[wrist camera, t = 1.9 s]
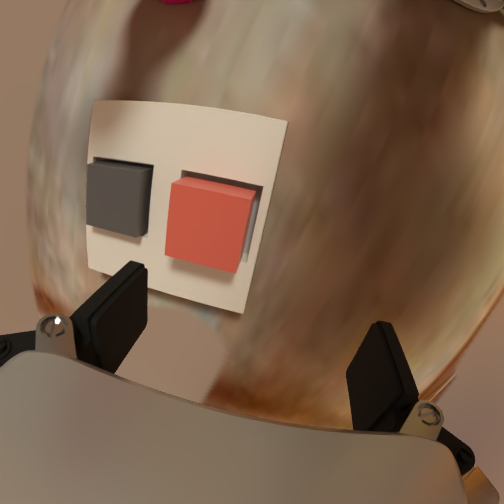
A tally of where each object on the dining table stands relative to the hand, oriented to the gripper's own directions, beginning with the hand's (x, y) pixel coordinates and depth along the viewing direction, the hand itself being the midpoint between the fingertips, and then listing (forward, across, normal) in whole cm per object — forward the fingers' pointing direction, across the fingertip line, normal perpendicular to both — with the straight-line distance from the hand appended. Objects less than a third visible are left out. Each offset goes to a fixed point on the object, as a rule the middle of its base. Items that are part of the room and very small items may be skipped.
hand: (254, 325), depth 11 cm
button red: (+10, +4, 0) cm, 11 cm away
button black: (+11, +12, 0) cm, 17 cm away
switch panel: (+13, +8, 0) cm, 15 cm away
